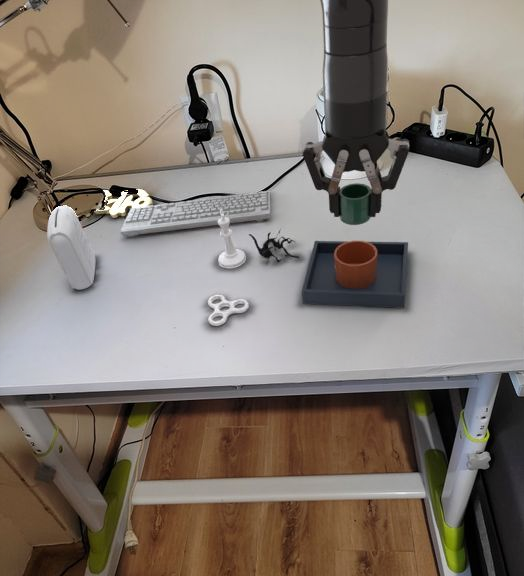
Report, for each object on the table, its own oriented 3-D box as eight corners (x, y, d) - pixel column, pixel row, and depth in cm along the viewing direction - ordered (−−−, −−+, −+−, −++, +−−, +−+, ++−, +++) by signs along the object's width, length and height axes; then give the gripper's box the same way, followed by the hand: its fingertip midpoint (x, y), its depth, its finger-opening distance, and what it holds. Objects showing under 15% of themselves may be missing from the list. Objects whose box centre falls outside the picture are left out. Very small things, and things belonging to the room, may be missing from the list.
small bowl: (372, 208, 74) (372, 182, 71) (369, 225, 71) (370, 199, 68) (341, 208, 75) (341, 183, 72) (338, 225, 72) (337, 199, 69)
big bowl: (378, 264, 82) (378, 240, 79) (375, 290, 78) (375, 266, 75) (337, 263, 84) (336, 240, 80) (332, 288, 79) (331, 265, 76)
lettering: (161, 191, 110) (159, 187, 110) (145, 216, 104) (144, 212, 103) (59, 195, 116) (57, 191, 115) (38, 219, 109) (36, 215, 108)
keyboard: (270, 192, 103) (268, 183, 102) (271, 221, 96) (269, 212, 95) (131, 210, 106) (128, 201, 104) (122, 239, 99) (119, 230, 98)
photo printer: (75, 260, 96) (46, 201, 87) (97, 255, 96) (71, 196, 88) (71, 293, 89) (39, 233, 80) (95, 287, 89) (66, 227, 80)
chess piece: (221, 271, 87) (209, 221, 80) (216, 256, 91) (203, 206, 84) (249, 264, 88) (239, 213, 81) (242, 249, 91) (232, 198, 84)
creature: (278, 242, 93) (244, 254, 89) (280, 214, 90) (245, 225, 85) (308, 259, 88) (273, 272, 84) (311, 230, 85) (275, 242, 81)
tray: (407, 254, 83) (408, 241, 82) (404, 308, 75) (405, 295, 73) (315, 252, 87) (314, 240, 86) (302, 303, 79) (301, 291, 77)
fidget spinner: (208, 299, 82) (207, 295, 82) (247, 292, 82) (246, 288, 82) (209, 328, 77) (208, 324, 77) (250, 321, 77) (250, 317, 77)
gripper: (290, 103, 60) (301, 228, 72) (416, 97, 56) (406, 229, 68) (301, 80, 65) (310, 200, 77) (418, 72, 61) (407, 200, 73)
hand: (355, 213), depth 73 cm, fingers closed on small bowl, 4 cm apart
